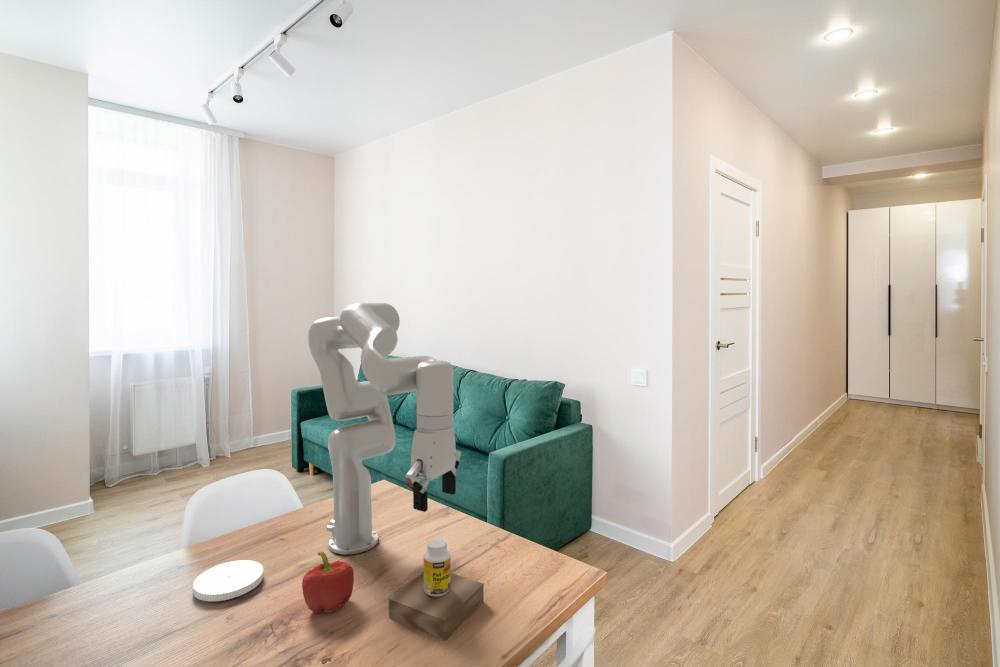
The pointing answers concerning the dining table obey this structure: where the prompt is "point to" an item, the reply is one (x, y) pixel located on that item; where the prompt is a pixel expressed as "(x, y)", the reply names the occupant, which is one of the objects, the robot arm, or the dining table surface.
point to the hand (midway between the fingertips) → (435, 501)
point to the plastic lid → (228, 580)
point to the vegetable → (328, 585)
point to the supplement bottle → (437, 568)
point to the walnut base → (436, 605)
